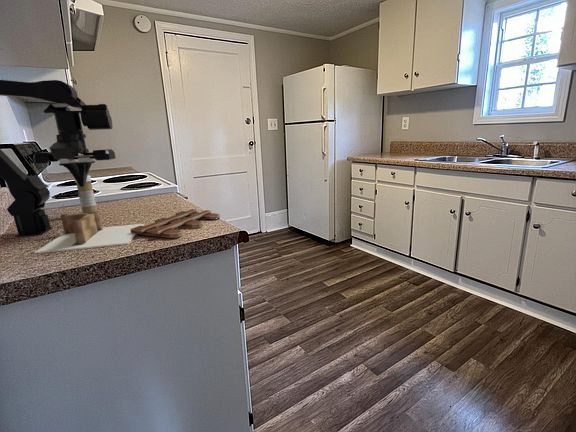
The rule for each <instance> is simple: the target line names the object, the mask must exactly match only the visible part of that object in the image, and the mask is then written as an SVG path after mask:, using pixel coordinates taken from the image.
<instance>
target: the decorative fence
mask: <svg viewBox="0 0 576 432" xmlns="http://www.w3.org/2000/svg"><path fill="white" fill-rule="evenodd" d="M216 218H217V219H218V218H219V219H220V218H221V215H220V214H219V213H214V212H212V210H208V209H205V210H202V211H200V212H199V211H198V209H195V208H193V209H189V210H181V211H178V212H176V213H175V214H174V215H173V216H172V215H171V216H169V217H160V218H159V219H156V220H154V222H152V223H149V224H147V225H144V226H138V227H135V228H132V229H130V230H131V233H133V234H136V235H144V236H151V237H160V238H161V237H162V238H170V239H172V238H180V237H182V236H183V231H182V230H180V229H176V228H180V227H181V228H189V229H197V228H202V227H203V226H204V224H203V221H200V220H205V219H216ZM219 219H218V220H219Z"/></svg>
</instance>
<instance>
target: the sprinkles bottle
mask: <svg viewBox="0 0 576 432" xmlns="http://www.w3.org/2000/svg"><path fill="white" fill-rule="evenodd" d="M74 182H75V183H76V188H77V192H78V193H77V194H78V198H79V202H80V207H81V211H82V213H88V212H93V211H98V210H97V209H98V208H97V203H96V202H97V201H96V198H95V197H96V196H95V193H94V189H93V185H92V177H91V175H90V174H88V175H87V179H86V183H85V186H84V187H80V185H79V184H78V182H77V181H76V179H75V178H74Z"/></svg>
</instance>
